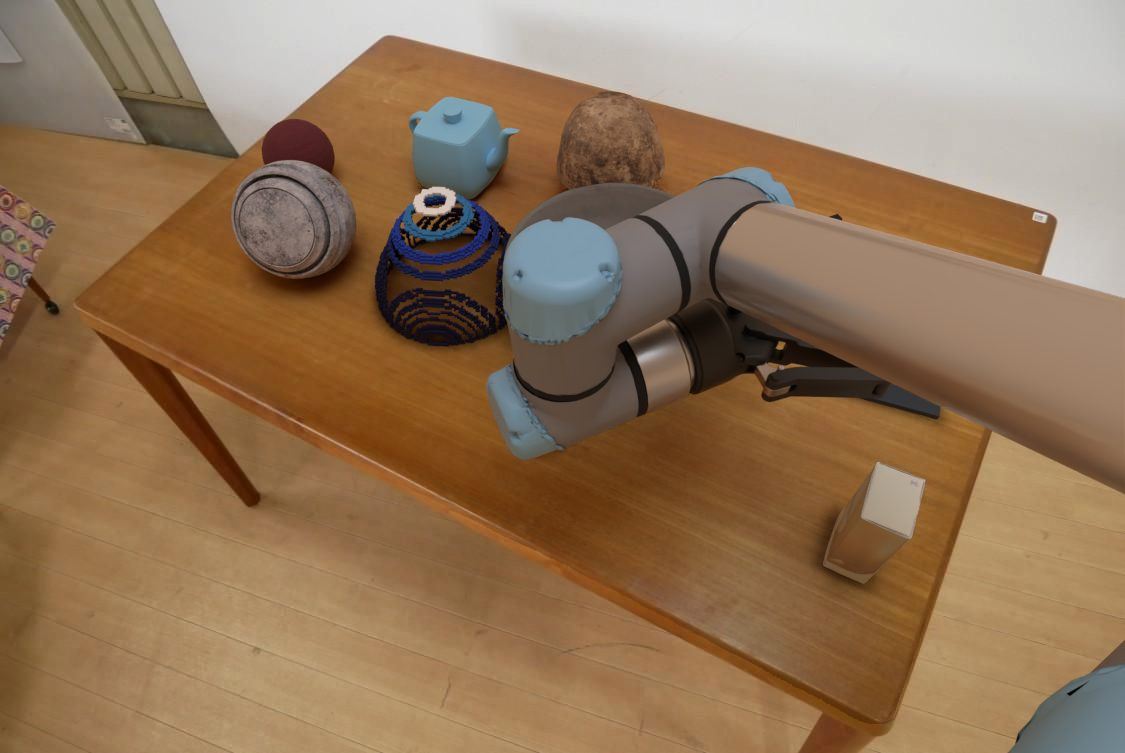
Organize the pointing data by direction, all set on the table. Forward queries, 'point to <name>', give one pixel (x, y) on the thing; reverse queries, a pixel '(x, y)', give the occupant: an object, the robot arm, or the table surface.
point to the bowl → (596, 205)
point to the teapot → (458, 146)
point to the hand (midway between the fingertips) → (883, 273)
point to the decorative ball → (298, 144)
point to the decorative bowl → (399, 248)
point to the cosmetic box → (874, 523)
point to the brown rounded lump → (610, 143)
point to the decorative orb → (293, 219)
